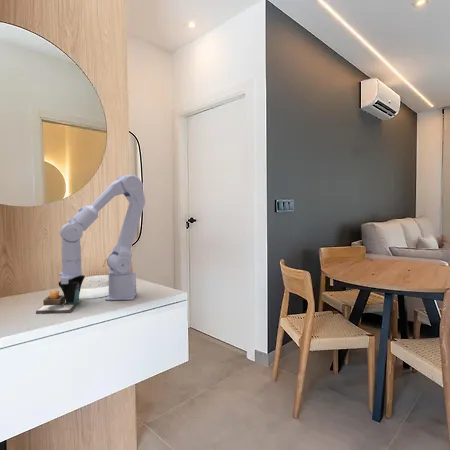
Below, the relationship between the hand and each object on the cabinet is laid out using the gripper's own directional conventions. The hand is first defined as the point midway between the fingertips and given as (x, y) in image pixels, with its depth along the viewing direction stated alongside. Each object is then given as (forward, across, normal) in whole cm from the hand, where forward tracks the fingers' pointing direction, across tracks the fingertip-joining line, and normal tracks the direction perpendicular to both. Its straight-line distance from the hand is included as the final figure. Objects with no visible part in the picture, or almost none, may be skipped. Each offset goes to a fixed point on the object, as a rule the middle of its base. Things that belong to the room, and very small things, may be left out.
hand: (72, 299), depth 109 cm
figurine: (+2, -27, +8) cm, 28 cm away
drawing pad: (+2, +6, -3) cm, 7 cm away
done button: (0, 0, -6) cm, 6 cm away
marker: (+2, 0, 0) cm, 2 cm away
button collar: (+2, 0, -6) cm, 6 cm away
